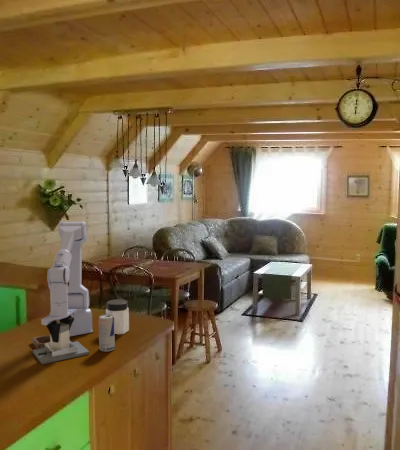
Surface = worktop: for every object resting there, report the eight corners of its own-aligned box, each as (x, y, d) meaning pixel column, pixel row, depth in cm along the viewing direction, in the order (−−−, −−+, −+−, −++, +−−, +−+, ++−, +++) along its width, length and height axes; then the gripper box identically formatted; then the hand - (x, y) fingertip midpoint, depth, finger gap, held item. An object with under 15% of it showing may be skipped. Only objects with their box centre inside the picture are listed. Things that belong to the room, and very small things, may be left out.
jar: (106, 335, 180) (105, 305, 179) (105, 329, 188) (105, 299, 187) (129, 333, 182) (129, 303, 181) (128, 327, 190) (127, 298, 189)
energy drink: (117, 347, 167) (116, 315, 166) (109, 352, 162) (109, 319, 161) (104, 345, 169) (103, 313, 168) (96, 350, 164) (95, 317, 163)
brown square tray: (52, 339, 176) (51, 334, 176) (58, 345, 169) (58, 340, 169) (32, 343, 172) (32, 337, 172) (38, 349, 165) (38, 344, 165)
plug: (59, 346, 165) (58, 322, 164) (69, 349, 162) (69, 324, 161) (50, 350, 161) (49, 325, 160) (61, 353, 159) (60, 327, 158)
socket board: (77, 343, 171) (77, 336, 171) (89, 354, 161) (88, 345, 161) (32, 352, 162) (32, 344, 162) (42, 364, 152) (41, 355, 152)
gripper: (66, 295, 168) (67, 331, 169) (34, 304, 155) (35, 344, 157) (80, 297, 165) (81, 335, 166) (49, 307, 152) (50, 348, 153)
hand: (60, 339), depth 161 cm, fingers closed on plug, 4 cm apart
